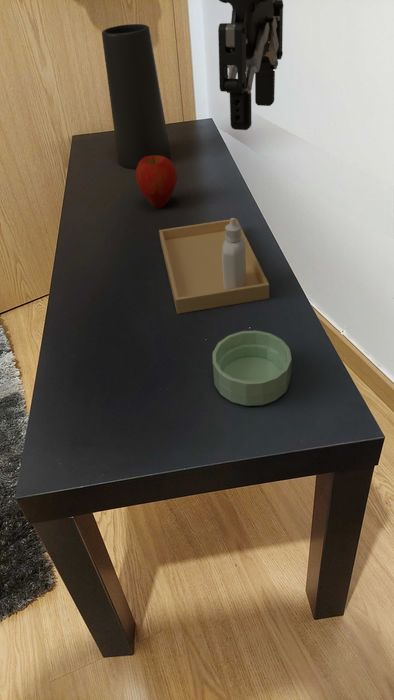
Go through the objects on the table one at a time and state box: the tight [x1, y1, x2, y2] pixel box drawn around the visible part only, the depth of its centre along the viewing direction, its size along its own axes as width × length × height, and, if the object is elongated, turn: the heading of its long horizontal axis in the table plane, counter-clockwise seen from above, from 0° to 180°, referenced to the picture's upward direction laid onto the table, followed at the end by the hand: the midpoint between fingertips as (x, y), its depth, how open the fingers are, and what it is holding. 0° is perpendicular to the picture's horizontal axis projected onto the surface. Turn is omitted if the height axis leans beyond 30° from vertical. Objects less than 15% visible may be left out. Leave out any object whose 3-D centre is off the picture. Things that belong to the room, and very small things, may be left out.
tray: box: [158, 217, 270, 315], centre depth 90 cm, size 23×15×3 cm, turn 10°
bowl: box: [212, 330, 293, 407], centre depth 68 cm, size 10×10×4 cm
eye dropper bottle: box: [222, 217, 246, 290], centre depth 81 cm, size 4×6×12 cm
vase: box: [101, 23, 172, 170], centre depth 122 cm, size 14×14×29 cm
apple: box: [135, 155, 178, 209], centre depth 107 cm, size 9×8×11 cm
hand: (253, 116), depth 60 cm, fingers open, 8 cm apart
